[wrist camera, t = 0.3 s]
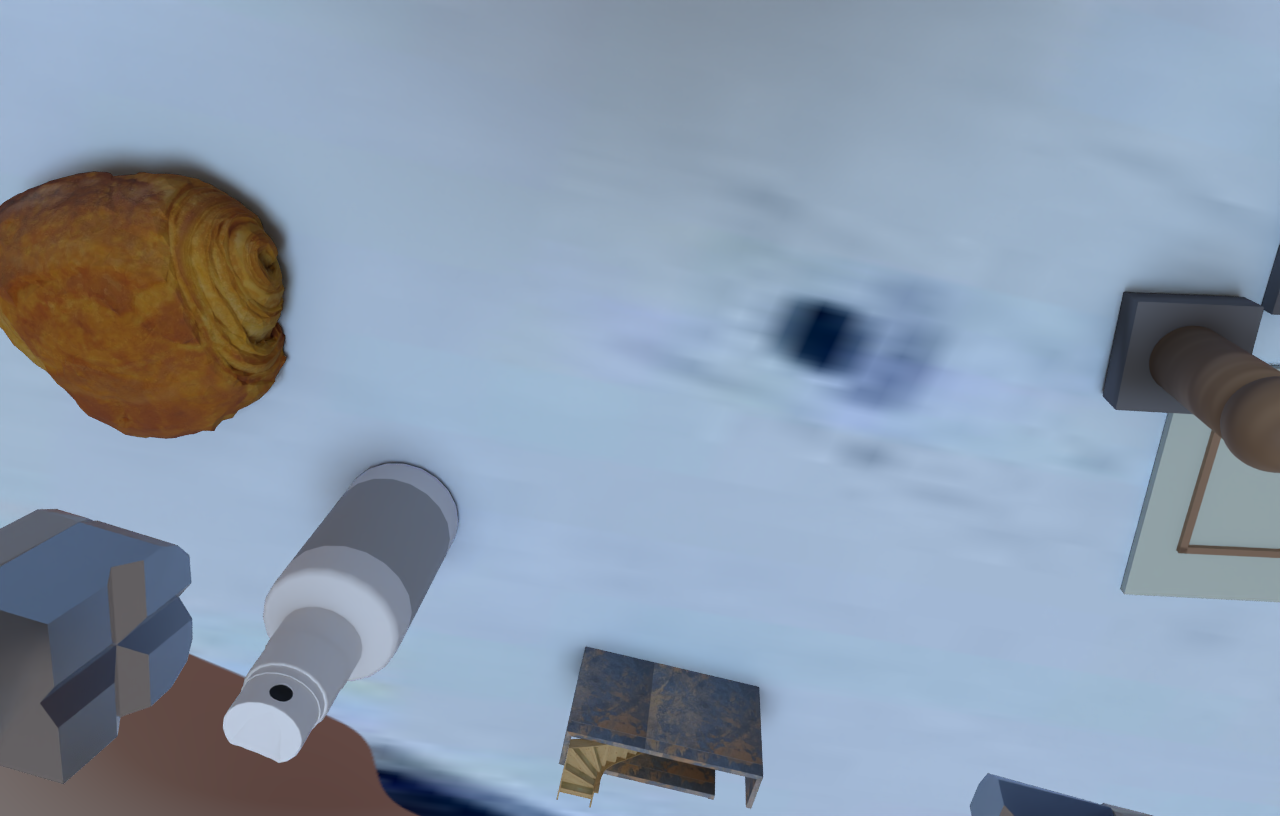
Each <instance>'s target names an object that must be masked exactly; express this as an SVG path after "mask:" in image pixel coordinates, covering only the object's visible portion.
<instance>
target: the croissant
mask: <svg viewBox="0 0 1280 816" xmlns="http://www.w3.org/2000/svg"><path fill="white" fill-rule="evenodd" d="M277 255H278V251H277V247H276V246H275V244H274V242H273V241H272V239H271V238H270V237H269V236H268V235H267V234H266V232H265V231H264V229H263V226H262V223H261V221H260V219H259V218H258V216H257V215H256V214H254V213H253V212H251V211H250V210H248V209H247V208H246V207H245V206H244V205H243V204H241V203H240V202H239V201H238V200H236V199H234V198H232V197H230V196H229V195H228V194H227V193H225V192H223V191H221V190H219V189H218V188H216V187H214V186H213V185H211V184H208V183H205V182H203V181H201V180H199V179H196V178H191V177H186V176H182V175H177V174H152V173H146V172H139V173H137V174H134V175H121V176H113V175H112V174H111V173H107V172H87V173H80V174H75V175H72V176H68V177H64V178H60V179H56V180H52V181H49V182H47V183H45V184H42V185H40V186H37V187H34V188H31V189H28V190H26V191H25V192H23V193H20V194H17V195H16V196H14V197H12V198H10V199H9V200H7V201H5V202H4V203H3V204H2V205H1V206H0V328H2V329H3V330H4V332H5V333H6V335H7V336H8V338H9V339H10V340H11V342H12V343H13V345H14V346H16V347H17V348H18V349H19V350H20V351H22V352H23V353H24V354H25V355H26V356H27V357H28V358H29V359H30V360H31V361H32V362H33V363H35V364H36V365H37V366H39V367H41V368H42V369H44V370H45V371H47V372H48V373H49V374H50V375H51V377H52V378H53V379H54V380H55V382H56V383H57V384H58V385H60V386H61V387H62V388H64V389H65V390H66V391H67V392H68V393H69V394H70V395H71V396H72V397H73V399H74V400H75V401H76V402H77V404H78V405H79V407H80V408H81V409H82V410H83V411H84V412H85V413H86V414H87V415H88V416H90V417H92V418H95V419H97V420H99V421H101V422H103V423H105V424H107V425H110V426H111V427H113V428H115V429H117V430H118V431H120V432H122V433H123V434H125V435H130V436H136V437H143V438H147V437H156V438H165V439H167V438H177V437H180V436H184V435H189V434H195V433H198V432H200V431H214V430H215V429H216V427H217V426H218V425H219V424H220V423H221V421H223V420H226V419H229V418H233V417H234V415H235V414H236V413H237V411H238V410H240V409H242V408H244V407H246V406H248V405H250V404H252V403H253V402H255V401H257V400H258V399H260V398H261V397H262V396H263V395H264V394H265V393H266V392H267V391H268V390H269V389H270V388H271V386H272V385H273V383H274V382H275V377H276V376H277V374H278V372H279V370H280V369H281V367H282V366H283V365H284V363H285V361H286V356H284V352H283V345H284V339H285V335H284V334H283V332H282V329H281V326H280V325H279V324H278V323H277V321H278V319H279V317H280V315H281V311H282V308H283V305H282V303H283V298H282V296H283V292H284V289H285V288H284V286H283V284H282V273H281V270H280V267H279V264H278V261H277Z"/></svg>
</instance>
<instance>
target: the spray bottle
mask: <svg viewBox="0 0 1280 816" xmlns="http://www.w3.org/2000/svg"><path fill="white" fill-rule="evenodd" d="M457 527H458V516H457V509H456V505H455V503H454V501H453V499H452V497H451V495H450V493H449V491H448V489H447V488H446V487H445V486H444V485H443V484H442V483H441V482H440V481H439V480H438V479H437V478H436V477H434V476H433V475H431V474H429V473H428V472H426V471H424V470H423V469H421V468H418V467H414V466H411V465H407V464H394V463H387V464H383V465H380V466H376V467H373V468H370V469H368V470H367V471H365V472H364V473H363V474H361V475H360V476H359V477H357V478H356V479H355V481H354V482H353V483H352V484H351V486H350V487H349V488H348V490H347V491H346V492H345V493H344V495H343V496H342V497H341V498H340V500H339V501H338V502H337V504H336V505H335V506H334V507H333V509H332V510H331V511H330V513H329V514H328V515H327V516H326V518H325V519H324V520H323V521H322V523H321V524H320V525H319V527H318V528H317V529H316V530H315V532H314V533H313V534H312V536H311V537H310V538H309V539H308V541H307V542H306V543H305V544H304V546H303V547H302V548H301V550H300V551H299V552H298V553H297V555H296V556H295V557H294V559H293V560H292V561H291V562H290V564H289V565H288V566H287V567H286V569H285V570H284V571H283V573H282V574H281V575H280V576H279V578H278V579H277V580H276V581H275V583H274V585H273V586H272V588H271V590H270V591H269V593H268V595H267V596H266V599H265V605H264V613H263V619H264V623H265V627H266V631H267V635H268V636H269V638H270V640H269V642H268V643H267V645H266V647H265V650H264V651H263V653H262V654H261V655H260V657H259V658H258V660H257V661H256V662H255V664H254V665H253V667H252V668H251V669H250V671H249V672H248V674H247V676H246V677H245V679H244V686H243V688H242V690H241V693H240V694H239V696H238V697H237V698H236V700H235V701H234V703H233V704H232V705H231V707H230V708H229V710H228V711H227V713H226V715H225V716H224V723H223V728H224V731H225V735H226V737H227V739H228V740H229V742H230V743H231V744H233V745H237V746H242V747H243V748H245V749H248V750H251V751H254V752H257V753H259V754H261V755H263V756H265V757H268V758H271V759H273V760H275V761H276V762H278V763H280V762H285V761H288V760H289V759H291V758H293V757H294V756H296V755H297V753H298V752H299V750H300V749H301V747H302V746H303V744H304V742H305V741H306V739H307V737H308V735H309V734H310V732H311V730H312V729H313V728H314V727H315V725H316V724H318V723H320V722H321V721H322V720H323V718H324V717H325V716H326V714H327V713H328V711H329V709H330V707H331V706H332V704H333V702H334V700H335V699H336V697H337V695H338V693H339V692H340V690H341V689H342V688H343V687H344V685H345V684H346V682H347V681H354V680H358V679H362V678H366V677H370V676H371V675H373V674H375V673H376V672H378V671H379V670H381V669H383V668H384V667H385V666H386V665H387V664H388V663H389V661H390V660H391V658H392V657H393V656H394V654H395V653H396V652H397V650H398V648H399V646H400V644H401V642H402V640H403V638H404V636H405V634H406V632H407V630H408V628H409V626H410V624H411V622H412V620H413V618H414V616H415V614H416V613H417V611H418V609H419V607H420V605H421V603H422V601H423V599H424V597H425V595H426V593H427V591H428V589H429V587H430V585H431V583H432V581H433V579H434V577H435V575H436V573H437V571H438V570H439V568H440V566H441V564H442V562H443V560H444V558H445V556H446V554H447V552H448V550H449V548H450V546H451V544H452V542H453V540H454V538H455V535H456V531H457Z"/></svg>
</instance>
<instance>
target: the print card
mask: <svg viewBox="0 0 1280 816" xmlns="http://www.w3.org/2000/svg"><path fill="white" fill-rule="evenodd" d="M1270 366H1272V367H1274V368H1275V369H1277V370H1279V371H1280V366H1275V365H1270ZM1121 590H1122V592H1123V593H1124V594H1129V595H1148V596H1168V597H1187V598H1206V599H1226V600H1245V601H1265V602H1280V473H1272V472H1265V471H1261V470H1258V469H1255V468H1253V467H1250V466H1248V465H1246V464H1245V463H1243V462H1242V461H1240V460H1239V459H1238V458H1236V457H1235V456H1234V455H1233V454H1232V453H1231V452H1230V450H1229V449H1228V448H1227V446H1226V444H1225V442H1224V440H1223V439H1222V438H1221V437H1220V436H1218V435H1217V434H1216V433H1215V432H1214V431H1212V430H1211V429H1210V428H1209V427H1208V426H1207V425H1205V424H1204V423H1203V422H1202V421H1201V420H1199V419H1198V418H1197V417H1196V416H1195V415H1193V414H1180V413H1168V416H1167V419H1166V423H1165V427H1164V431H1163V434H1162V438H1161V442H1160V445H1159V449H1158V453H1157V456H1156V460H1155V464H1154V467H1153V471H1152V475H1151V479H1150V482H1149V486H1148V490H1147V493H1146V497H1145V501H1144V504H1143V508H1142V512H1141V516H1140V519H1139V523H1138V527H1137V530H1136V534H1135V538H1134V541H1133V545H1132V549H1131V552H1130V556H1129V560H1128V564H1127V567H1126V571H1125V575H1124V578H1123V582H1122V586H1121Z"/></svg>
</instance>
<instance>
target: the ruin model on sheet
mask: <svg viewBox="0 0 1280 816" xmlns="http://www.w3.org/2000/svg"><path fill="white" fill-rule="evenodd" d="M571 736H573V737H577V738H581V739H571ZM569 743H570V744H569ZM568 747H569V748H568ZM567 751H568V752H567ZM566 755H567V756H566ZM565 759H566V761H565ZM564 763H565V765H564ZM559 764H561V765H564V769H563V773H562V778H561V782H560V786H559V791H558V795H557V800H558V796H559V792H563V793H567V794H571V795H576V796H580V797H584V798H589V799H591V801H590V807H591V803H592V799H593V795H594V793H598V791H599V785H600V780H601V777H602V775H603V774H608V775H612V776H616V777H621V778H625V779H629V780H634V781H638V782H642V783H646V784H651V785H655V786H659V787H664V788H668V789H672V790H677V791H681V792H685V793H690V794H694V795H698V796H702V797H707V798H708V799H712V800H713V799H714V796H715V770H719V771H723V772H728V773H732V774H736V775H740V776H745V786H746V807H747V808H751V807H752V805H753V802H754V799H755V797H756V794H757V792H758V789H759V786H760V784H761V781H762V779H763V762H762V740H761V718H760V696H759V687H757V686H753V685H749V684H744V683H740V682H736V681H732V680H727V679H723V678H719V677H714V676H710V675H706V674H701V673H697V672H693V671H689V670H684V669H680V668H676V667H671V666H667V665H663V664H659V663H654V662H650V661H646V660H641V659H637V658H633V657H629V656H624V655H620V654H616V653H611V652H607V651H603V650H599V649H594V648H590V647H585V652H584V656H583V660H582V664H581V668H580V672H579V676H578V681H577V685H576V690H575V694H574V699H573V703H572V708H571V712H570V717H569V721H568V726H567V730H566V735H565V739H564V744H563V748H562V753H561V757H560V762H559Z"/></svg>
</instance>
